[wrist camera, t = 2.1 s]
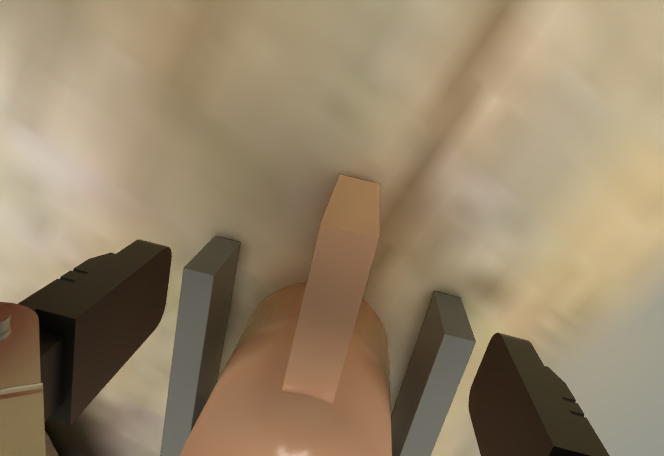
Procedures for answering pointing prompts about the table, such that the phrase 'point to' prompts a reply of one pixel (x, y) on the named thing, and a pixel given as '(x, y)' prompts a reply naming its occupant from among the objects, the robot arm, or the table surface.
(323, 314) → the peach mallet
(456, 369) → the charcoal holder
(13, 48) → the table surface
